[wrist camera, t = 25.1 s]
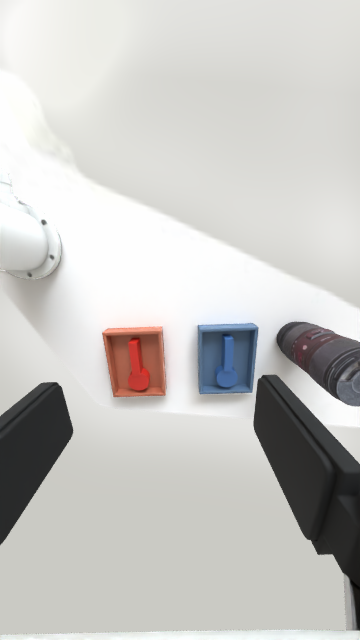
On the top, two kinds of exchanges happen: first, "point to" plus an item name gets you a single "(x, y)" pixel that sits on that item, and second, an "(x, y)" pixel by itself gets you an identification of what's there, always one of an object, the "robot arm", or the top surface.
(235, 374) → the blue spoon
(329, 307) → the top surface
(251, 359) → the blue tray
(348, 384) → the camera lens
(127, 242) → the top surface
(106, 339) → the red tray
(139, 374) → the red spoon
